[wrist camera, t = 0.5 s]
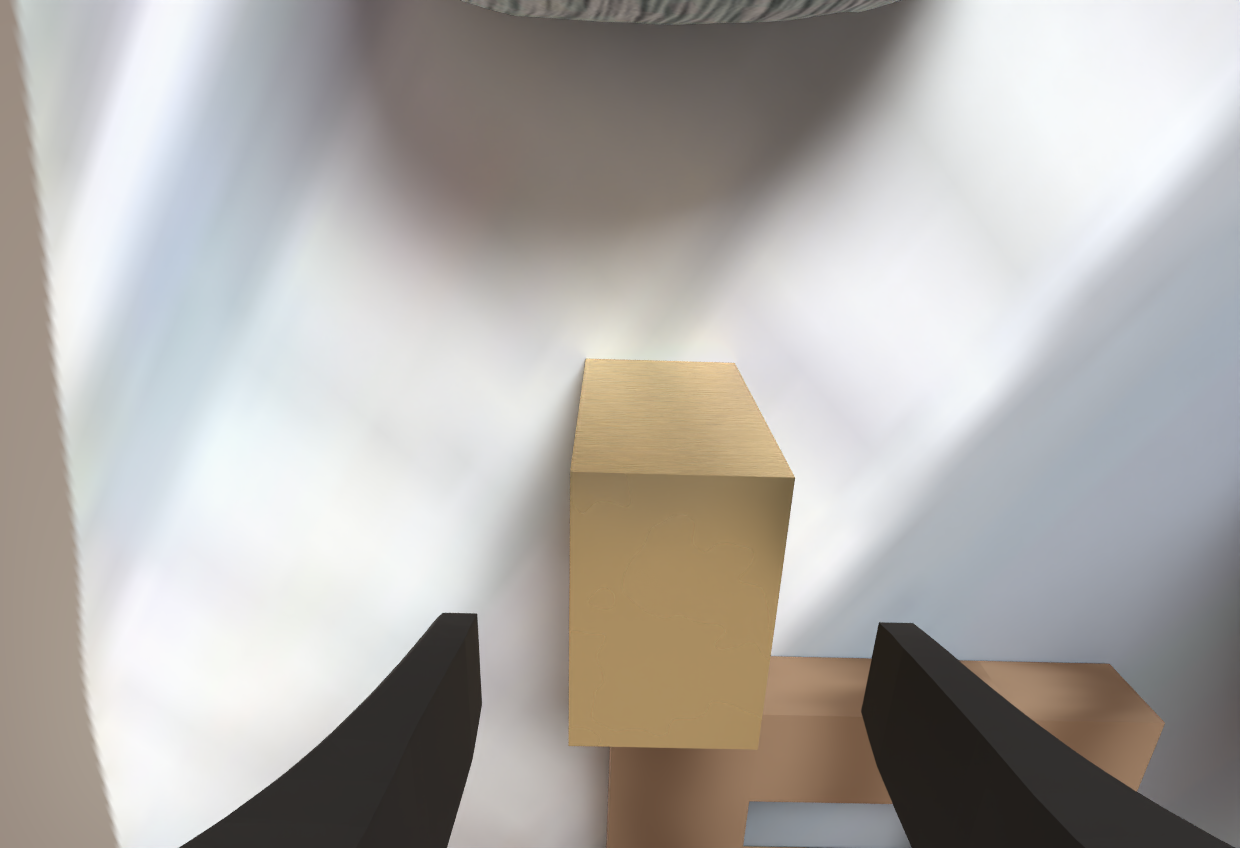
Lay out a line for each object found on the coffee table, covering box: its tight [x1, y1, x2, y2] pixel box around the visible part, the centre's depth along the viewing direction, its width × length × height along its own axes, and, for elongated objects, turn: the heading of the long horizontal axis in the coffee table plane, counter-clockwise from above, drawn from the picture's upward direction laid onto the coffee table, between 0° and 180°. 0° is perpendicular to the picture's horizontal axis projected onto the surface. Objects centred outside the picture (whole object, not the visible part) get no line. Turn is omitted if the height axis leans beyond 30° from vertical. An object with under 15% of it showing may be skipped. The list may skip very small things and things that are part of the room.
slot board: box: [606, 656, 1165, 848], centre depth 24 cm, size 16×12×2 cm
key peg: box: [569, 359, 795, 750], centre depth 17 cm, size 4×6×7 cm, turn 178°
